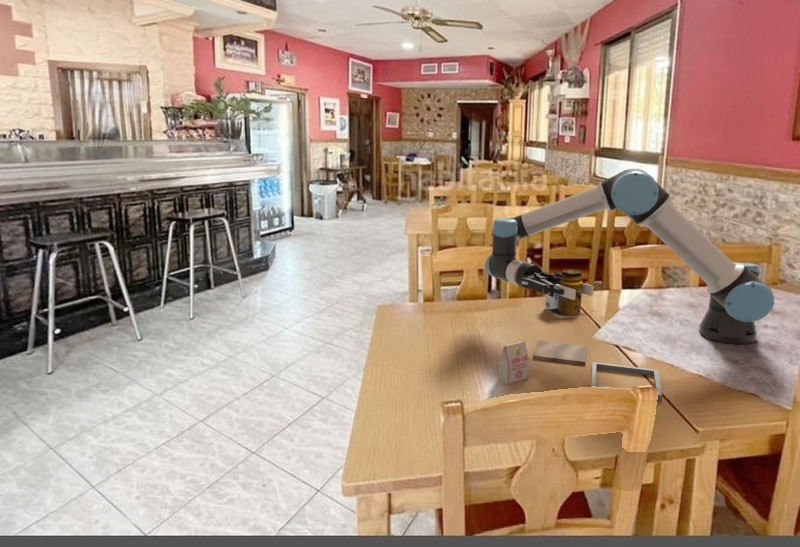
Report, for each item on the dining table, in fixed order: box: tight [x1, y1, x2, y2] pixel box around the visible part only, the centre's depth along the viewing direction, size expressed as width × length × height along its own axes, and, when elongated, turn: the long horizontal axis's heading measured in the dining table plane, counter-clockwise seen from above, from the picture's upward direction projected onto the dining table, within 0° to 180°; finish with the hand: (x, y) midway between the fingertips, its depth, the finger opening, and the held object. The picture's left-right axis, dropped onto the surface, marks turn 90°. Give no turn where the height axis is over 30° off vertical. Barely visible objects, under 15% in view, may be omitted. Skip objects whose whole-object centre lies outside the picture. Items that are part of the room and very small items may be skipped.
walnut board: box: [532, 340, 588, 366], centre depth 156 cm, size 14×12×1 cm
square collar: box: [590, 361, 663, 402], centre depth 137 cm, size 16×15×2 cm
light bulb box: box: [544, 286, 559, 310], centre depth 192 cm, size 11×7×11 cm, turn 104°
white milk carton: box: [498, 340, 530, 386], centre depth 139 cm, size 4×7×10 cm, turn 118°
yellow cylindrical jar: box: [545, 268, 587, 319], centre depth 149 cm, size 7×8×12 cm
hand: (583, 292), depth 145 cm, fingers closed on yellow cylindrical jar, 6 cm apart
